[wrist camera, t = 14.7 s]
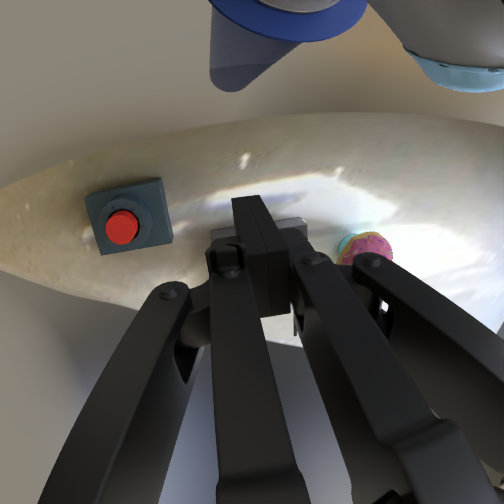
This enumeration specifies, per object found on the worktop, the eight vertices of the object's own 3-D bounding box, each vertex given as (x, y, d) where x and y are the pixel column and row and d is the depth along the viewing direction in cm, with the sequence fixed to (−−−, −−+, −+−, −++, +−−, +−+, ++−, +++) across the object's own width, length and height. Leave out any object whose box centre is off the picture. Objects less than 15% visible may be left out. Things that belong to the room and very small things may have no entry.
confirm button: (134, 207, 31) (130, 212, 30) (141, 236, 33) (138, 241, 32) (106, 213, 31) (102, 218, 30) (114, 241, 33) (110, 247, 31)
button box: (161, 177, 34) (155, 184, 30) (173, 236, 38) (170, 249, 34) (90, 193, 33) (78, 202, 30) (105, 248, 37) (96, 262, 33)
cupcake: (340, 282, 45) (374, 330, 34) (316, 243, 41) (352, 288, 30) (383, 251, 44) (426, 291, 33) (363, 209, 40) (411, 244, 29)
